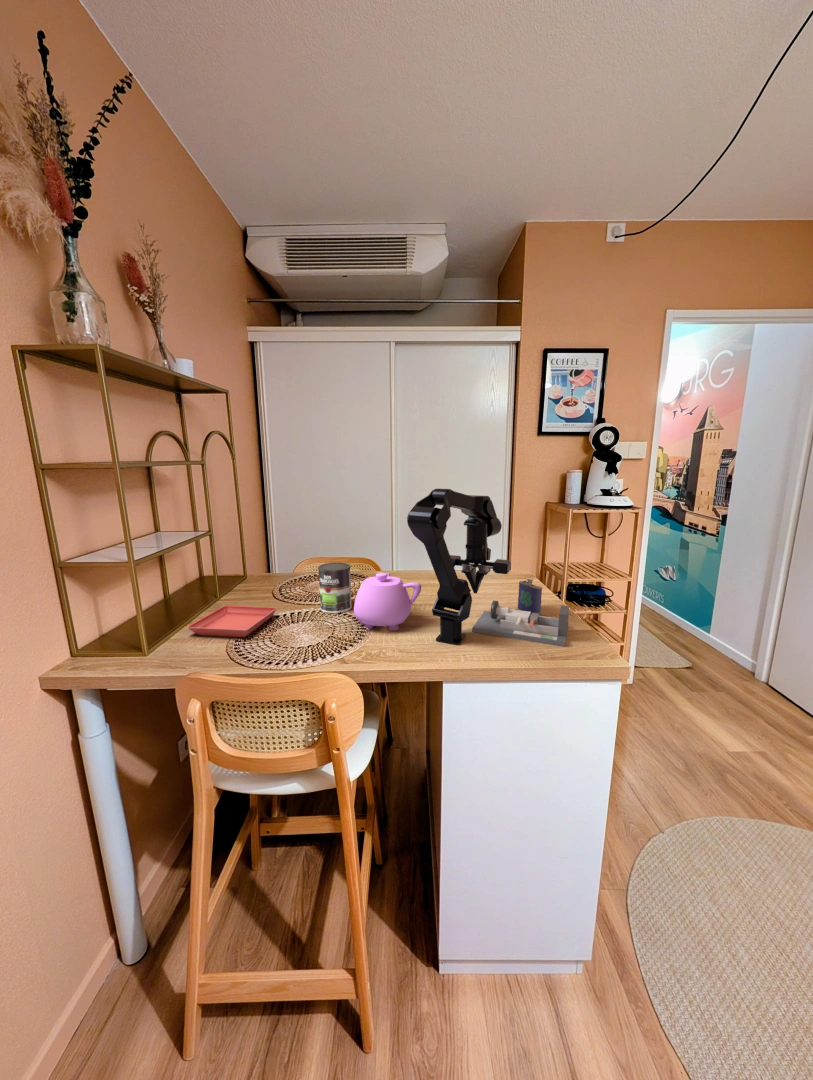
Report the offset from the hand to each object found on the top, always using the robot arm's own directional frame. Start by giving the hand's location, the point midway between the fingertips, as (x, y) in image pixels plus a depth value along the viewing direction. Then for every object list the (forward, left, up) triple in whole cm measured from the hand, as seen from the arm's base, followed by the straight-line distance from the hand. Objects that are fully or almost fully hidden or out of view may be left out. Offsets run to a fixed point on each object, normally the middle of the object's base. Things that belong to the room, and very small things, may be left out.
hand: (475, 593), depth 117 cm
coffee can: (-5, +45, -9) cm, 46 cm away
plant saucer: (-29, +64, -10) cm, 71 cm away
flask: (+15, -13, -9) cm, 22 cm away
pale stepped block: (-2, -10, -7) cm, 13 cm away
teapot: (-8, +24, -9) cm, 27 cm away
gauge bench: (0, -13, -9) cm, 16 cm away
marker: (-2, -17, -7) cm, 18 cm away
